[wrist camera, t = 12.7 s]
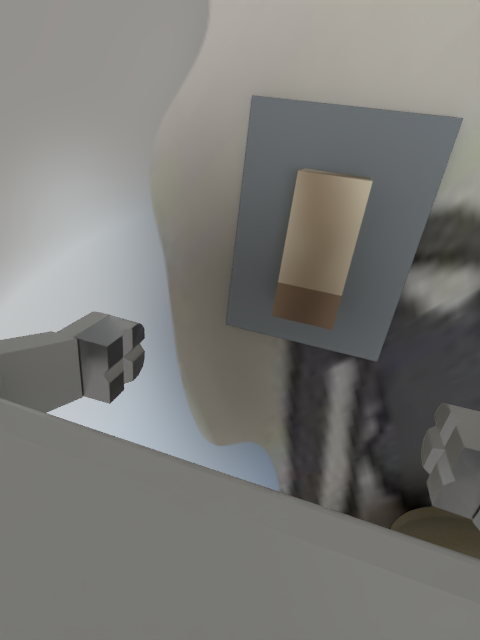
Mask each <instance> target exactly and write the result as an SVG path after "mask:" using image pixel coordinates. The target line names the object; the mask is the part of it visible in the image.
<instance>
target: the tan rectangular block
mask: <svg viewBox="0 0 480 640" xmlns="http://www.w3.org/2000/svg"><path fill="white" fill-rule="evenodd" d="M372 182H373V181H372V180H371V178H369V177H362V176H355V175H348V174H341V173H334V172H327V171H320V170H314V169H307V168H305V169H301V170H298V174H297V179H296V185H295V190H294V196H293V202H292V207H291V213H290V218H289V224H288V229H287V235H286V241H285V246H284V252H283V257H282V263H281V268H280V274H279V280H278V284H277V290H276V295H275V301H274V306H273V312H272V316H274V317H278V318H283V319H287V320H291V321H296V322H300V323H304V324H308V325H313V326H317V327H321V328H326V329H330V330H333V327H334V323H335V319H336V316H337V312H338V308H339V305H340V301H341V297H342V293H343V289H344V285H345V282H346V278H347V274H348V271H349V267H350V263H351V260H352V256H353V252H354V249H355V245H356V241H357V238H358V234H359V230H360V227H361V223H362V219H363V216H364V212H365V208H366V204H367V201H368V197H369V193H370V190H371V186H372Z"/></svg>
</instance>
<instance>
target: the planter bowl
mask: <svg viewBox="0 0 480 640" xmlns="http://www.w3.org/2000/svg"><path fill="white" fill-rule="evenodd" d="M472 521H473V520H472V519H469V518H466V517H463V516H460V515H457V514H455V513H452V512H449V511H446V510H443V509H440V508H437V507H434V506H430V507H423V508H418V509H414V510H411V511H409V512H407V513H405V514H403V515H401V516H400V517H399V518H398V519H397V520H396V521H395V522H394V523H393V524H392V526H391V528H390V529H391V530H394V531H397V532H400V533H403V534H405V535H408V536H411V537H414V538H417V539H420V540H423V541H426V542H429V543H432V544H435V545H438V546H441V547H444V548H447V549H450V550H453V551H456V552H459V553H462V554H465V555H468V556H471V557H474V558H477V559H479V560H480V531H479V529H478V528H477V527H476V526H475V524H474V523H473V522H472Z"/></svg>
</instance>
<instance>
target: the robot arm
mask: <svg viewBox="0 0 480 640" xmlns="http://www.w3.org/2000/svg"><path fill="white" fill-rule="evenodd" d="M144 338H145V337H144V327H143V326H142V324H140V323H136V322H133V321H129V320H125V319H121V318H118V317H115V316H111V315H108V314H104V313H100V312H92V313H90V314H88V315H86V316H84V317H83V318H81V319H79V320H77V321H76V322H74V323H72V324H71V325H69V326H67V327H65V328H64V329H62V330H60V331H58V332H57V333H55V332H46V333H40V334H34V335H28V336H22V337H16V338H10V339H4V340H0V640H480V560H479V559H477V558H474V557H471V556H468V555H465V554H462V553H459V552H456V551H453V550H450V549H447V548H444V547H441V546H438V545H435V544H432V543H429V542H426V541H423V540H420V539H417V538H414V537H411V536H408V535H405V534H403V533H400V532H397V531H394V530H391V529H388V528H385V527H382V526H379V525H376V524H373V523H370V522H367V521H364V520H361V519H358V518H355V517H352V516H349V515H346V514H343V513H340V512H337V511H334V510H331V509H328V508H326V507H323V506H320V505H317V504H314V503H311V502H308V501H305V500H302V499H299V498H296V497H293V496H290V495H287V494H284V493H281V492H278V491H275V490H272V489H269V488H266V487H263V486H260V485H257V484H254V483H251V482H248V481H245V480H242V479H239V478H236V477H233V476H230V475H227V474H225V473H221V472H219V471H216V470H213V469H210V468H207V467H204V466H201V465H198V464H195V463H192V462H189V461H186V460H183V459H180V458H177V457H174V456H171V455H168V454H165V453H162V452H159V451H156V450H153V449H151V448H148V447H145V446H141V445H138V444H135V443H133V442H130V441H127V440H124V439H121V438H118V437H115V436H112V435H109V434H106V433H103V432H100V431H97V430H94V429H91V428H88V427H85V426H82V425H79V424H77V423H73V422H71V421H68V420H64V419H62V418H59V417H56V416H53V415H50V414H47V413H46V412H49V411H51V410H54V409H56V408H58V407H61V406H63V405H65V404H68V403H70V402H72V401H74V400H77V399H79V398H82V396H85V397H89V398H92V399H96V400H99V401H103V402H106V403H111V402H112V401H113V400H114V399H115V398H116V397H117V396H118V395H119V394H120V393H121V392H122V391H123V390H124V384H125V383H128V382H131V381H133V380H134V379H135V378H136V377H137V376H138V375H139V373H140V371H141V369H142V367H143V363H144V352H145V351H144V350H143V348H142V346H141V345H140V343H141V342H142V340H143V339H144ZM434 417H435V420H436V423H437V425H436V426H434V427H432V428H430V429H428V430H427V433H426V435H425V437H424V440H423V445H422V450H421V458H422V464H423V468H424V469H425V470H426V471H427V472H428V473H429V474H430V476H429V478H428V480H427V486H428V490H429V495H430V499H431V503H432V506H434V507H437V508H440V509H443V510H446V511H449V512H452V513H455V514H457V515H460V516H463V517H466V518H469V519H472V520H473V521H472V522H473V523H474V524H475V526H476V527H477V528H478V529H479V531H480V412H479V411H474V410H470V409H466V408H462V407H457V406H453V405H449V404H444V403H442V404H441V405H440V407H439V408H438V410H437V412H436V414H435V416H434Z"/></svg>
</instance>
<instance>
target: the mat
mask: <svg viewBox="0 0 480 640" xmlns="http://www.w3.org/2000/svg"><path fill="white" fill-rule="evenodd" d="M462 120H463V118H456V117H447V116H437V115H428V114H419V113H409V112H400V111H391V110H382V109H372V108H363V107H354V106H345V105H335V104H326V103H317V102H308V101H298V100H289V99H280V98H271V97H261V96H252V102H251V111H250V120H249V128H248V137H247V146H246V154H245V163H244V172H243V181H242V189H241V198H240V207H239V215H238V224H237V233H236V242H235V250H234V259H233V268H232V276H231V285H230V294H229V303H228V311H227V320H226V325H229V326H233V327H237V328H241V329H245V330H250V331H254V332H258V333H262V334H266V335H270V336H274V337H278V338H282V339H286V340H291V341H295V342H299V343H303V344H307V345H311V346H315V347H319V348H323V349H327V350H331V351H336V352H340V353H344V354H348V355H352V356H356V357H360V358H364V359H368V360H372V361H376V362H377V360H378V358H379V355H380V352H381V349H382V346H383V344H384V341H385V338H386V335H387V332H388V329H389V327H390V324H391V321H392V318H393V315H394V312H395V310H396V307H397V304H398V301H399V298H400V296H401V293H402V290H403V287H404V284H405V281H406V279H407V276H408V273H409V270H410V267H411V264H412V262H413V259H414V256H415V253H416V250H417V248H418V245H419V242H420V239H421V236H422V233H423V231H424V228H425V225H426V222H427V219H428V216H429V214H430V211H431V208H432V205H433V202H434V200H435V197H436V194H437V191H438V188H439V185H440V183H441V180H442V177H443V174H444V171H445V168H446V166H447V163H448V160H449V157H450V154H451V152H452V149H453V146H454V143H455V140H456V137H457V135H458V132H459V129H460V126H461V123H462ZM305 168H307V169H314V170H320V171H327V172H334V173H341V174H348V175H355V176H362V177H369V178H371V180H372V181H373V182H372V186H371V190H370V193H369V197H368V201H367V204H366V208H365V212H364V216H363V219H362V223H361V227H360V230H359V234H358V238H357V241H356V245H355V249H354V252H353V256H352V260H351V263H350V267H349V271H348V274H347V278H346V282H345V285H344V289H343V293H342V297H341V301H340V305H339V308H338V312H337V316H336V319H335V323H334V327H333V330H330V329H326V328H321V327H317V326H313V325H308V324H304V323H300V322H296V321H291V320H287V319H283V318H278V317H274V316H272V312H273V306H274V301H275V295H276V290H277V284H278V280H279V274H280V268H281V263H282V257H283V252H284V246H285V241H286V235H287V229H288V224H289V218H290V213H291V207H292V202H293V196H294V190H295V185H296V179H297V174H298V170H301V169H305Z"/></svg>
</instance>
